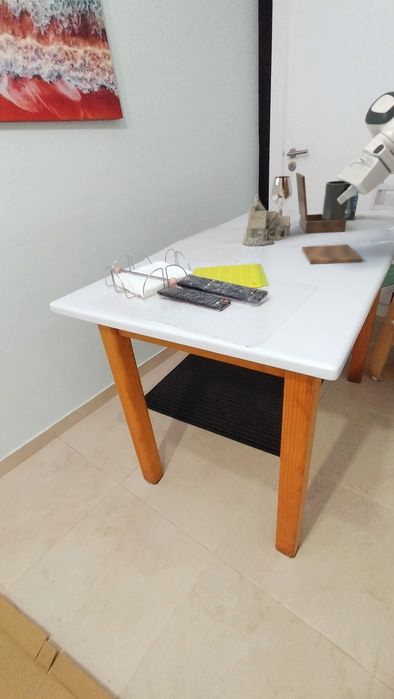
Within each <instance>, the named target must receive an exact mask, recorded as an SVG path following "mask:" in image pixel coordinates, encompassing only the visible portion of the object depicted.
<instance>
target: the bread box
mask: <svg viewBox="0 0 394 699" xmlns="http://www.w3.org/2000/svg"><path fill="white" fill-rule="evenodd" d="M307 215H308V221H305V220H304V219H303V217H302V216H301V215H300V214H299V228H300V229H301V230H302V231H303V233H304V234H305V235H307V234H328V233H329V234H330V233H345V231H346V226H347V220H346V219H341V220H328V219H323V218H322V213H315V214H307Z"/></svg>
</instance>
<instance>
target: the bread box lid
mask: <svg viewBox="0 0 394 699" xmlns="http://www.w3.org/2000/svg"><path fill="white" fill-rule="evenodd" d="M295 177H296V190H297V191H296V192H297V199H298V201H297V203H298V214H299V216H300V215H301V216H302V217H303V219H304V220H305V221H308V215H309V214H308V205H307V204H308V202H307V201H308V200H307V190H306V177H305V176H304V175H303V174H301V173H299V172H296V173H295Z"/></svg>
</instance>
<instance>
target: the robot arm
mask: <svg viewBox="0 0 394 699" xmlns="http://www.w3.org/2000/svg"><path fill="white" fill-rule="evenodd" d="M364 122H365V125H366V128H367V130H368V131H369V133H370V135H371V137H372V139H371V140H370V141H369V142H368V143H367V144H366V145H365V146H364V147H363V148H362V153H363V155H362V156H357V157H356V158H354V159H353V160H352V161H351V162H349V164H348V165H346V167H344V168H343V169H342V170H341V171H340V172H339V173H338V174H337V176H336V179H337V181H344V182H346V183H349V184H351V186H350V187H349V188H348V190H346V191H345V192H344V193H343V194H340V195H339V197H337V199H336V200H337V201H338V202H339V203H340V204H342V203H344V202H345V201H346V200H347V199H349V198H350V197H352V196H354V195H355V194H356V193H357V192H358V194H361V195H363V196H365V195H367V194H369V193H371V192H372V191H373V190H375V189H376V188H377V187H378V186H379V185H380V184H382V183H383V182H384V181H385V180H386V179H388V177H389V176H390V175H394V91H388V92H386V93H382V95H380V96H379V97H378V98H377V99H376V100H375V101H374V102H373V103H372V104H371V105H370V107H369V108H368V110H367V112H366V115H365V119H364Z"/></svg>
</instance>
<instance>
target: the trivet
mask: <svg viewBox="0 0 394 699" xmlns="http://www.w3.org/2000/svg"><path fill="white" fill-rule="evenodd" d="M301 252H302V253H303V254H304V256H305V257H306V259H307V261H308V262H309V264H310V265H323V264H325V265H326V264H345V263H347V264H348V263H349V264H350V263H362V262H363V258H362V257H361V256H360V255H359V254H358V253H357V252H355V250H353V248H352V247H350V246H349V244H336V245H316V246H315V245H314V246H301Z"/></svg>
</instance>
